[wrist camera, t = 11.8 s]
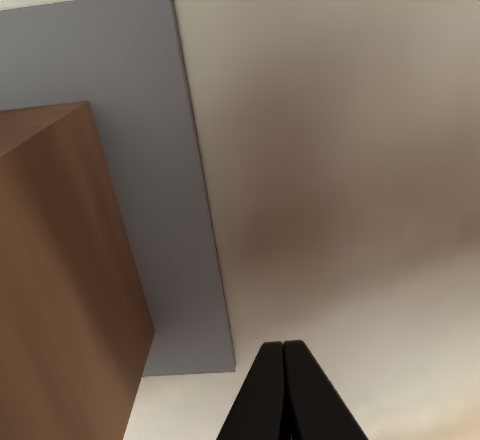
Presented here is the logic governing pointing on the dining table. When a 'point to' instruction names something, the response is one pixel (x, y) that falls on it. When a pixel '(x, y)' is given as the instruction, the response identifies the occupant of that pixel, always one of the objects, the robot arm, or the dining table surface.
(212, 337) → the mat
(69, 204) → the slab
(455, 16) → the dining table surface
